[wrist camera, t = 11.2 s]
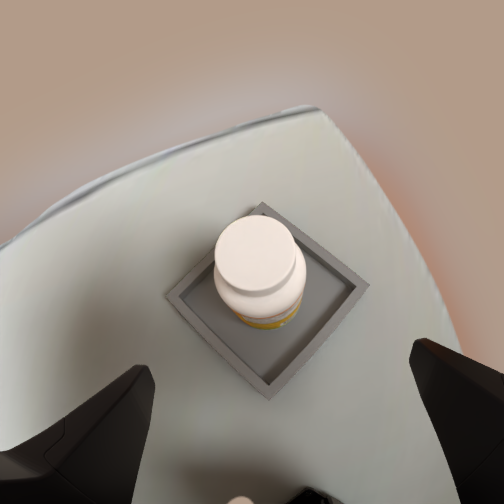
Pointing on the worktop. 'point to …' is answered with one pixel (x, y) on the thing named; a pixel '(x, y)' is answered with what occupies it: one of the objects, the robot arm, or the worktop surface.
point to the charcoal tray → (278, 340)
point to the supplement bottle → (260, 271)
